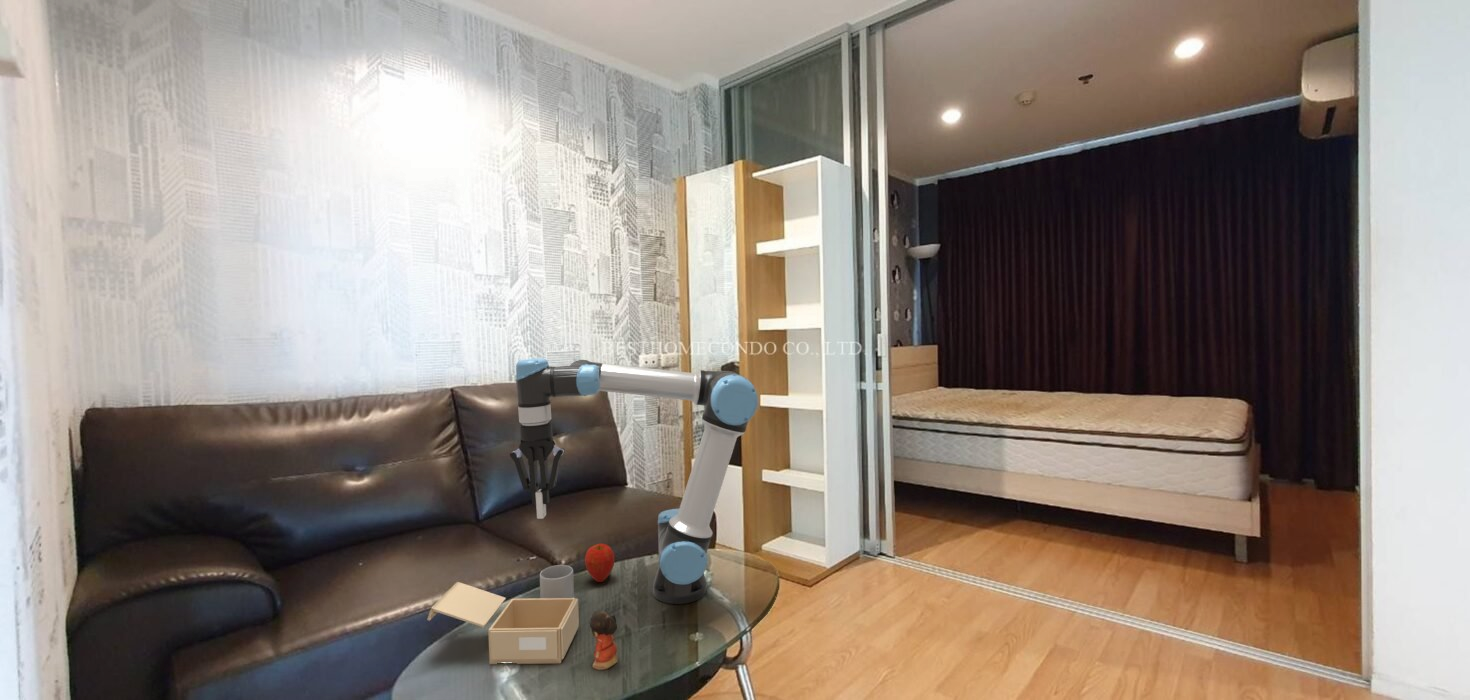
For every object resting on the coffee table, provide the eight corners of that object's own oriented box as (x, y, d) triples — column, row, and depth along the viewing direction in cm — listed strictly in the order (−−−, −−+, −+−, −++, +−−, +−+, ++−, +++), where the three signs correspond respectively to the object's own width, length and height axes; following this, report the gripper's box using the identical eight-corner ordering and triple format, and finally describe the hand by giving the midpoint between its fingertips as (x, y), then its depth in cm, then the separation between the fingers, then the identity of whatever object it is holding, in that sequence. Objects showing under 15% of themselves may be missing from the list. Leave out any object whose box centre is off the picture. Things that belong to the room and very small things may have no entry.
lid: (457, 581, 143) (453, 592, 144) (431, 607, 131) (427, 619, 131) (505, 597, 144) (502, 608, 144) (484, 625, 131) (480, 637, 131)
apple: (587, 574, 175) (586, 539, 174) (616, 573, 176) (615, 538, 175) (583, 588, 166) (582, 551, 166) (613, 586, 167) (612, 550, 167)
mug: (577, 616, 151) (576, 575, 151) (542, 623, 148) (541, 581, 147) (569, 595, 162) (568, 557, 162) (537, 602, 159) (536, 563, 158)
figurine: (621, 655, 134) (620, 604, 133) (617, 670, 129) (616, 617, 128) (593, 655, 134) (592, 605, 133) (588, 670, 128) (587, 618, 128)
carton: (579, 628, 146) (578, 597, 145) (562, 664, 131) (561, 630, 130) (513, 628, 146) (512, 597, 145) (488, 665, 130) (487, 631, 130)
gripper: (566, 418, 146) (571, 509, 148) (513, 420, 146) (520, 512, 148) (558, 424, 139) (564, 520, 141) (503, 426, 138) (509, 523, 140)
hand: (541, 516), depth 144 cm, fingers closed
